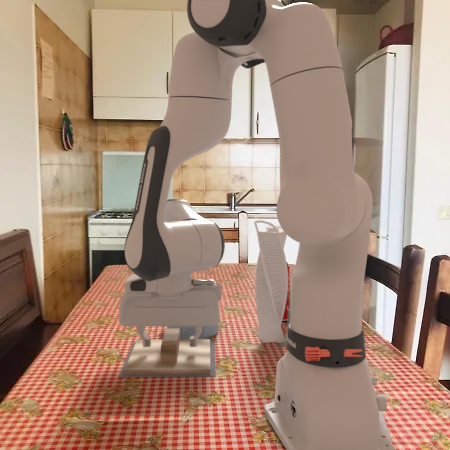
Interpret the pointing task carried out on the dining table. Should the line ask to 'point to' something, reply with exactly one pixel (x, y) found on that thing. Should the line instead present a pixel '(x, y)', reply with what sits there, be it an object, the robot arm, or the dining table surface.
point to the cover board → (184, 360)
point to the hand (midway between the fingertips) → (170, 346)
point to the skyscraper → (271, 284)
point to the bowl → (191, 330)
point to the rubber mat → (212, 374)
